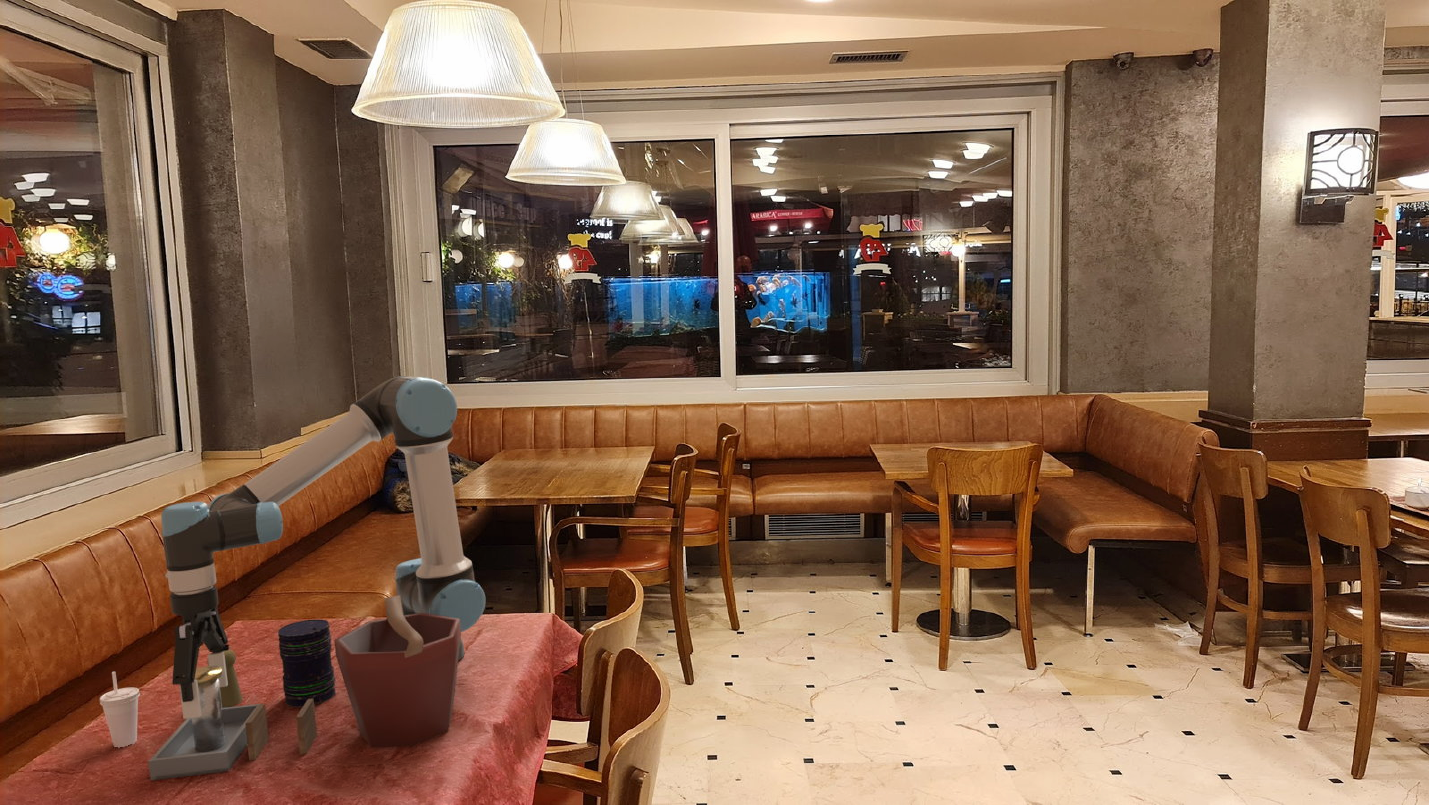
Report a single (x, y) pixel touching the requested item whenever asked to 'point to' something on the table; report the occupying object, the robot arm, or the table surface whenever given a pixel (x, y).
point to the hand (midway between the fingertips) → (206, 701)
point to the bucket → (401, 675)
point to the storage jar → (306, 662)
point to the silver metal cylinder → (209, 711)
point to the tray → (186, 761)
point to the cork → (230, 682)
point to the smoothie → (121, 714)
